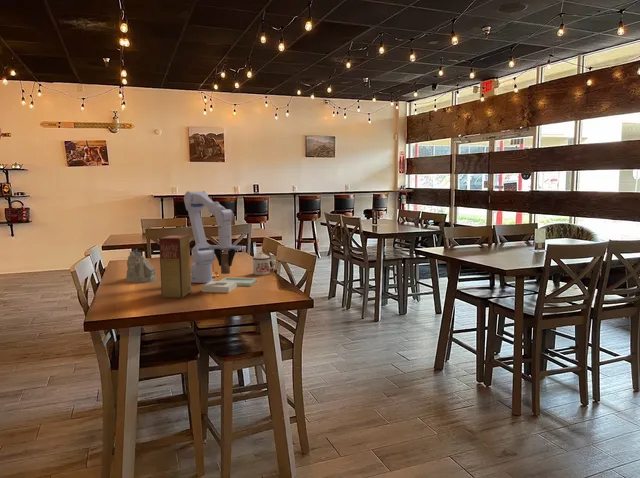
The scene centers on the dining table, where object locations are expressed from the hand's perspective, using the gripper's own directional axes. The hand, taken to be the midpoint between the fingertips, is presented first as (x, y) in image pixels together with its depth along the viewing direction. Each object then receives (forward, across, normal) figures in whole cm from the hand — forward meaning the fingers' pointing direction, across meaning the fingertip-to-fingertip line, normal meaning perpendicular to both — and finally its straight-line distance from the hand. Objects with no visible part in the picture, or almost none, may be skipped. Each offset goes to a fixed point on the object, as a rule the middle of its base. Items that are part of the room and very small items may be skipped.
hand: (225, 265), depth 215 cm
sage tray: (+10, +3, +9) cm, 14 cm away
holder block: (+10, -1, -5) cm, 11 cm away
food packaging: (+10, -16, -17) cm, 25 cm away
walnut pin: (+3, 0, 0) cm, 3 cm away
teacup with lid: (+10, +9, +35) cm, 38 cm away
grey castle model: (+10, -46, +12) cm, 49 cm away
